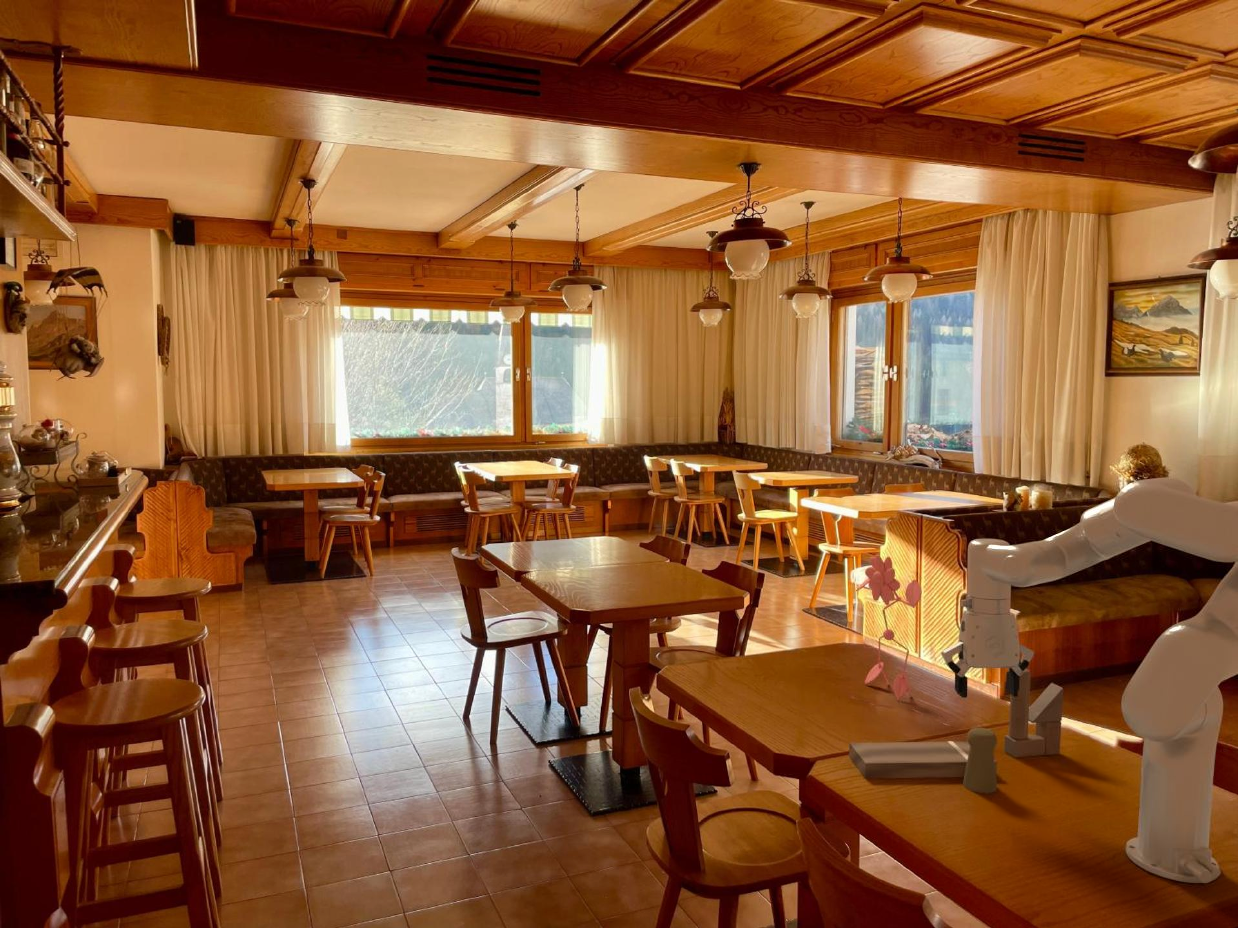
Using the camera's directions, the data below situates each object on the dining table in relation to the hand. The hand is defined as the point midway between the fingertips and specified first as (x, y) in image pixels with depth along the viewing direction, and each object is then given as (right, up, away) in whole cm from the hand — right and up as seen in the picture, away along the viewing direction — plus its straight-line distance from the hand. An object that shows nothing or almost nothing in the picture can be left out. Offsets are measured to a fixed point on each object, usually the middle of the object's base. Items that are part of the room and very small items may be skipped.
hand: (986, 694), depth 166 cm
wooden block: (+17, -17, +18) cm, 30 cm away
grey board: (-9, -17, +10) cm, 22 cm away
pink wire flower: (-5, -14, +53) cm, 55 cm away
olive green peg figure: (-1, -18, +2) cm, 18 cm away
